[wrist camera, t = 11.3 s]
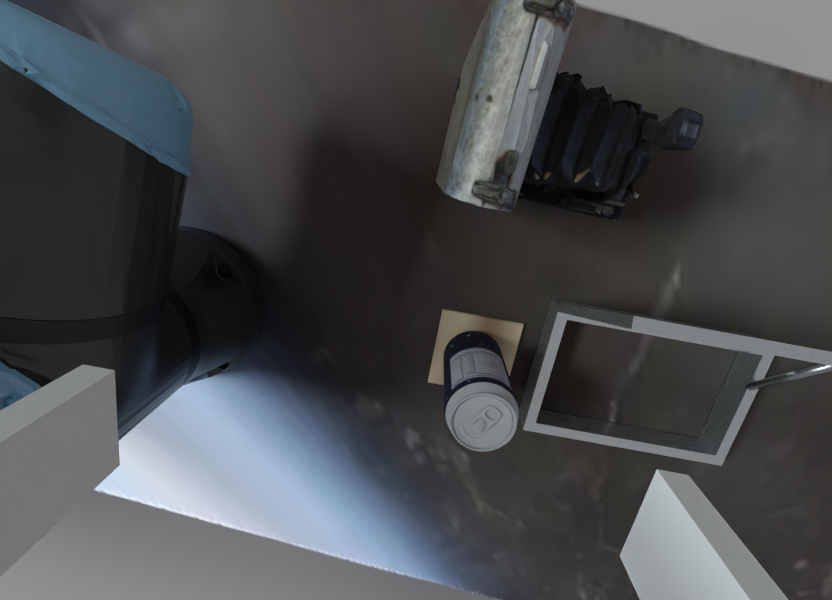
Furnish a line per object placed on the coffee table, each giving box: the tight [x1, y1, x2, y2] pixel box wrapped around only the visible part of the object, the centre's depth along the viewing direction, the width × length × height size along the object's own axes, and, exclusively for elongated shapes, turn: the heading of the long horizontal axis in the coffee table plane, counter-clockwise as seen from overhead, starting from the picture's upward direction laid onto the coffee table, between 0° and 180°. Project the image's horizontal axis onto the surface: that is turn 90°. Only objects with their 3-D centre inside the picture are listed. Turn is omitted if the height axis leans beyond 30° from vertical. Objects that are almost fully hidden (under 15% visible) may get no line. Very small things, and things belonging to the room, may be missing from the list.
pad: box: [428, 309, 524, 385], centre depth 42 cm, size 8×8×1 cm
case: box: [519, 298, 832, 466], centre depth 35 cm, size 20×17×16 cm
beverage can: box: [443, 331, 520, 451], centre depth 37 cm, size 6×6×12 cm
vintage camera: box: [436, 0, 703, 222], centre depth 27 cm, size 10×15×20 cm, turn 77°
